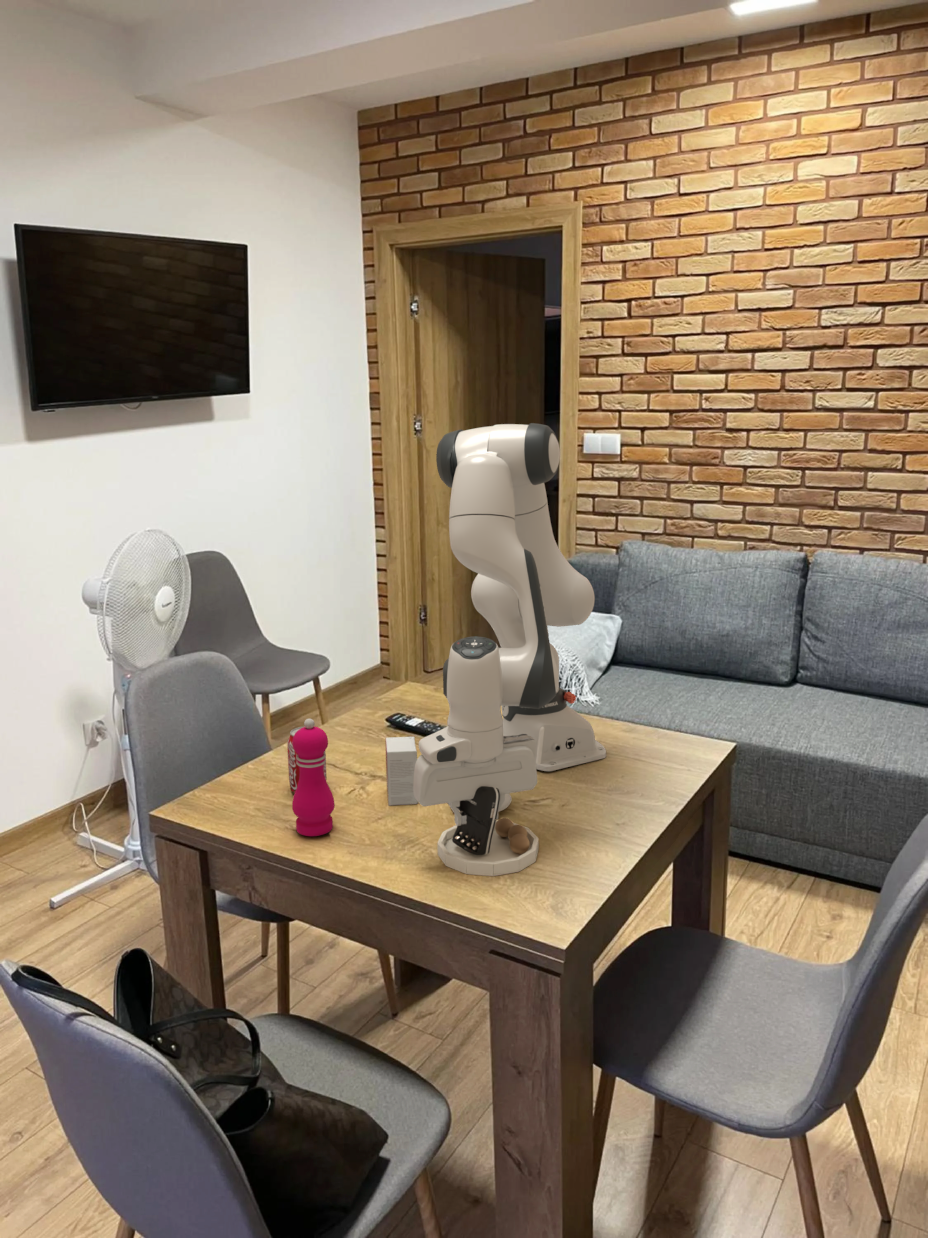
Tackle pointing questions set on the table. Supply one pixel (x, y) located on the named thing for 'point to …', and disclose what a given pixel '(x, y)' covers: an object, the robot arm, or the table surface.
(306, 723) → the pepper mill
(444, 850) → the tray
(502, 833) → the bead
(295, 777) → the soda can
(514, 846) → the bead
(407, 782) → the small box
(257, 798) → the table surface
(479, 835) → the battery charger
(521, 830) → the bead
